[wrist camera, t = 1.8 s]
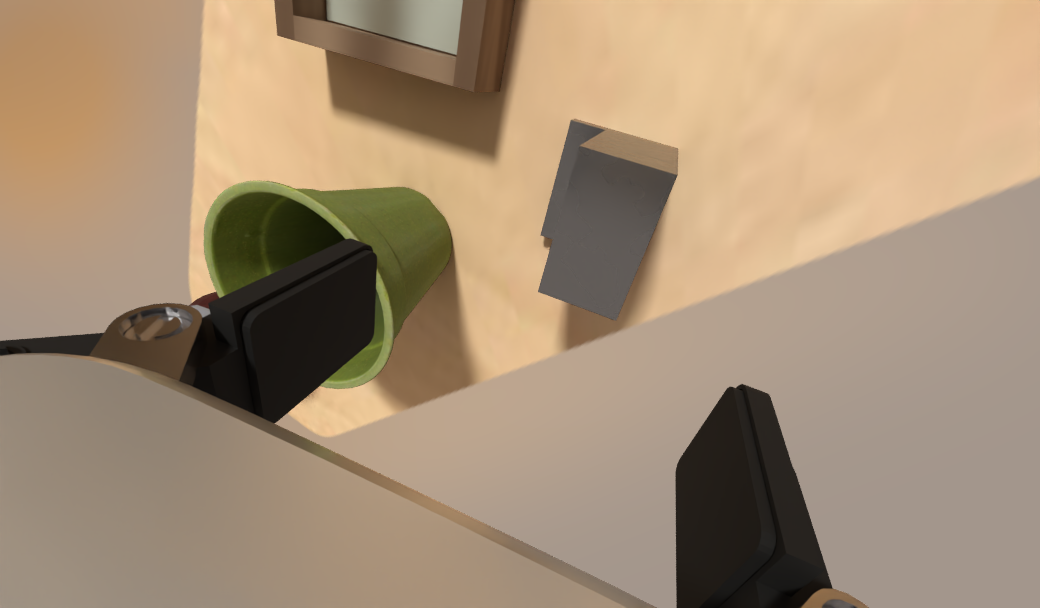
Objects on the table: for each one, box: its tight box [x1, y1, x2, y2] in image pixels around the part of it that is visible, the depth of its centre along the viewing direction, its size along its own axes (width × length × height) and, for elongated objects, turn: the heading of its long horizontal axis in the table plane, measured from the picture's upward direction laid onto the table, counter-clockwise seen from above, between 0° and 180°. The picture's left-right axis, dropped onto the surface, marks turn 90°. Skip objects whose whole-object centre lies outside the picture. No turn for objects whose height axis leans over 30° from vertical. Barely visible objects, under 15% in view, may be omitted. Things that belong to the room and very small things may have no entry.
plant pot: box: [204, 181, 452, 389], centre depth 26 cm, size 12×12×11 cm
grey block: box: [538, 119, 678, 321], centre depth 21 cm, size 6×7×8 cm
